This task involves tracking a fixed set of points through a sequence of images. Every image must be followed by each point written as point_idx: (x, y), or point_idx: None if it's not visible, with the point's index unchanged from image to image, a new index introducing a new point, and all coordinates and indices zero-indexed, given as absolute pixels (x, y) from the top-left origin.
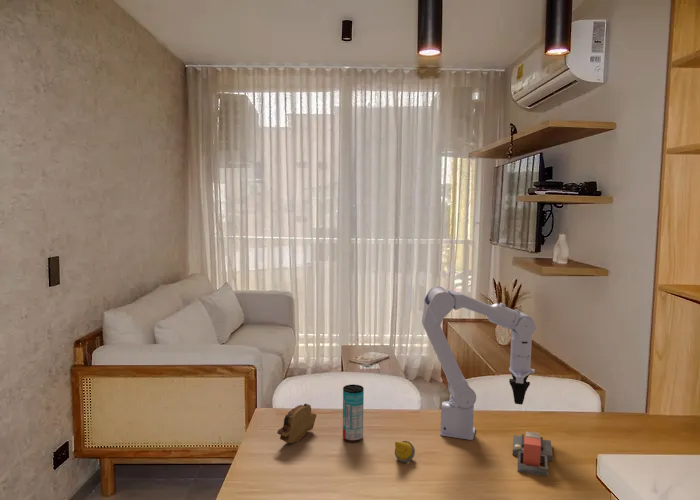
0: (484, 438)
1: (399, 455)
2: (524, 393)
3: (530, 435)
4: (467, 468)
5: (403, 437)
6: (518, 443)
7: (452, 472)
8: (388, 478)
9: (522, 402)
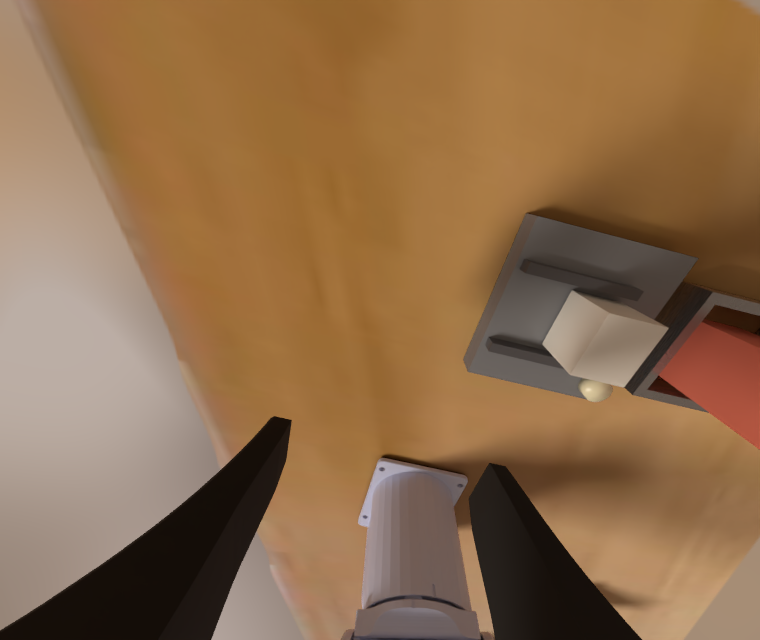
0: (448, 442)
1: None
2: (599, 599)
3: (626, 366)
4: (636, 507)
5: None
6: (547, 371)
7: (646, 535)
8: (634, 617)
9: (515, 483)
